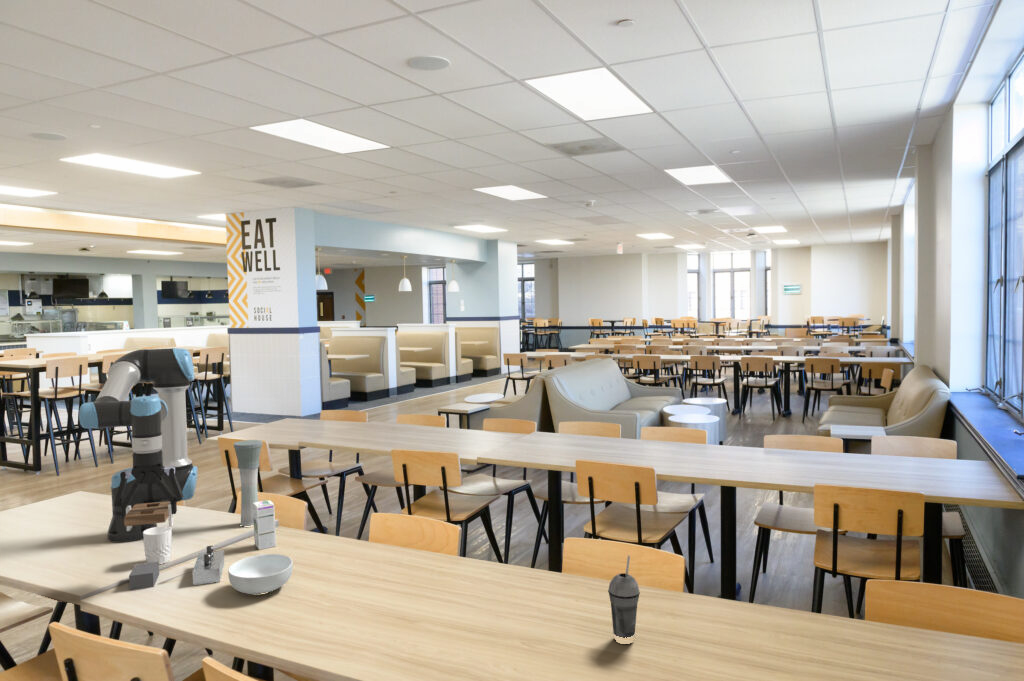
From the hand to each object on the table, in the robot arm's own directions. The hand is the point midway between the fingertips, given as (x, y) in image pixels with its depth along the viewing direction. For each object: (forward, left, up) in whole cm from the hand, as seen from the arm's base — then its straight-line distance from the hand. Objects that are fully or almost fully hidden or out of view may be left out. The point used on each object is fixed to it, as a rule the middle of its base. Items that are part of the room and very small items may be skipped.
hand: (150, 527), depth 190 cm
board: (0, 0, +3) cm, 3 cm away
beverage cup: (+77, +111, -16) cm, 136 cm away
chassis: (0, +15, -16) cm, 22 cm away
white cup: (-16, -1, -16) cm, 23 cm away
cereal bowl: (+17, +30, -16) cm, 38 cm away
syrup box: (-19, +30, -16) cm, 39 cm away
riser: (0, -2, -16) cm, 16 cm away
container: (-45, +24, -16) cm, 54 cm away
